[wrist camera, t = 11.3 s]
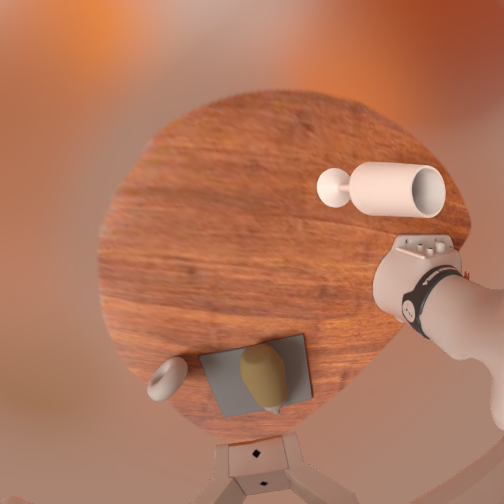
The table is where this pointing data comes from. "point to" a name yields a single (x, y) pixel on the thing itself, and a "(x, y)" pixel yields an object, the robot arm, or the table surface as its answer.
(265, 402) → the squeeze bottle
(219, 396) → the mat
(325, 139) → the table surface
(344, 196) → the champagne flute
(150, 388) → the donut
